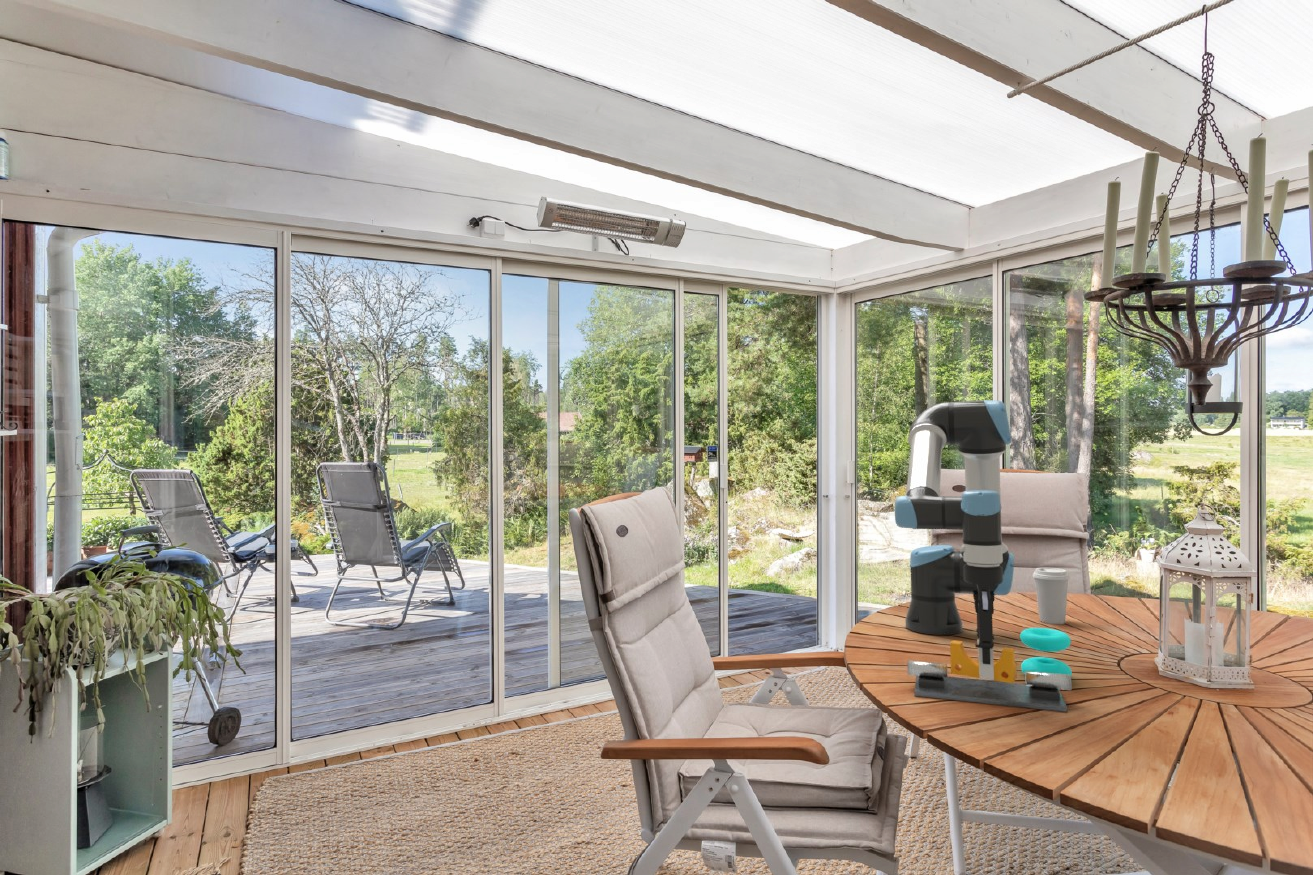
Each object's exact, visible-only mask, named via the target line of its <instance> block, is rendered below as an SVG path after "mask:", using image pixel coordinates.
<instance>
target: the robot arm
mask: <svg viewBox="0 0 1313 875" xmlns="http://www.w3.org/2000/svg"><path fill="white" fill-rule="evenodd" d="M1008 418H1009V417H1008V412H1007V408H1006V404H1005V403H1004V402H1003V401H1001V400H988V399H987V400H986V399H982V400H980V399H979V400H965V401H964V400H963V401H954V402H953V401H951V402H949V401H946V402H945V401H943V402H940V403H936V404H933V405H931V406H929V407H928V408H926V409H924V410H923V411H922V412H920V413H919V414H918V416H916V418H915V419H914V420H913V422H912V424H911V425H910V428H909V429H908V434H907V435H908V437H907V441H908V445H909V447H910V454H909V462H908V472H907V473H908V474H907V480H906V481H907V482H906V490H905V491H906V492H905V495H901V496H897V497H896V498H895V499H894V500H895V501H894V519H895V520H894V521H895V524H896V526H897V527H899V528H901V529H902V528H903V529H913V530H949V531H950V530H953V531H954V530H956V531H957V530H958V531H962V543H963V544H962V545H961V547H960V548H959V551H958V550H955V548H954V546H953V545H948V544H946V545H945V544H938V545H937V544H936V545H928V546H922V547H921V546H920V547H917V548H915V549H913V550H912V551H911V552H910V555H909V556H910V562H909V567H910V595H911V596H910V599H911V600H910V602H909V606H908V609H907V613H906V614H905V615H906V616H905V621H904V622H905V628H906V629H907V630H910V631H912V632H916V633H920V634H926V635H933V636H934V635H935V636H936V635H938V636H939V635H940V636H944V635H945V636H947V635H948V636H949V635H956V634H959V633H961V632H963V620H962V618H961V616H960V612H959V610H958V607H957V605H956V604H957V603H956V597H955V596H956V595H955V594H969V595H972V597H973V598H972V599H973V600H974V609H975V614H976V629H975V631H976V633H977V634H976V638H977V639H976V641H977V642H976V643H977V644H975V648H977V662H979V678H978V679H980V680H990V681H994V664H993V661H994V646H995V644H994V640H995V635H994V632H993V630H994V629H993V614H994V612H995V611H994V602H995V596H1006V595H1007V596H1008V594H1009V593H1010V592H1011V589H1012V584H1013V577H1014V571H1015V570H1014V567H1015V566H1014V564H1015V556H1014V553H1012V552H1009V546H1008V545H1006V544H1005V543H1004V542H1003V541H1002V539H1003V538H1002V536H1003V535H1002V503H1001V502H1002V501H1001V500H1002V499H1001V498H1002V497H1001V462H1000V461H1001V459H1000V457H1001V456H1002V455H1003V454H1004V453H1005V452H1006V451H1007V450H1006V449H1007V448H1006V445H1010V444H1012V436H1011V430H1010V424H1009V419H1008ZM948 445H949V446H958V447H957V450H958V451H957V452H958V453H959V454H960V455H961V456H963V457H964V479H965V480H964V482H965V483H964V484H965V490H964V491H963V492H962V494H961V496H941V495H940V494H941V493H940V492H941V472H942V471H941V470H942V454H943V453H942V452H943V451H942V450H943V449H944V448H945V446H948Z"/></svg>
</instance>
